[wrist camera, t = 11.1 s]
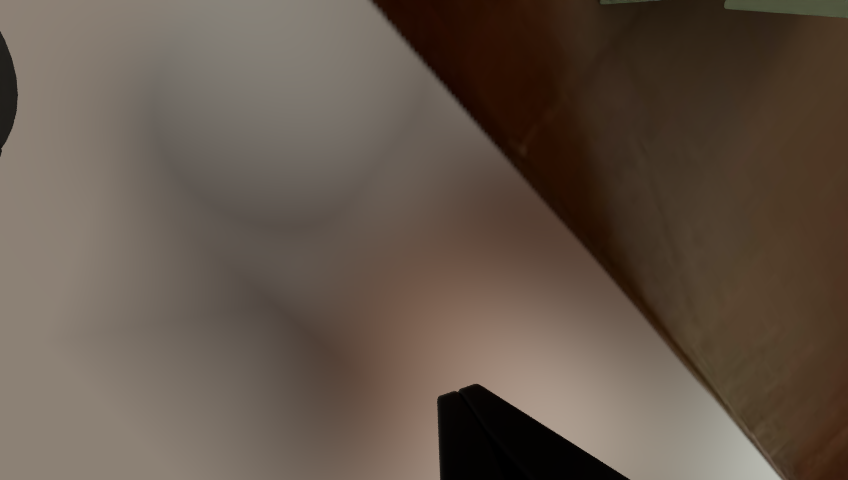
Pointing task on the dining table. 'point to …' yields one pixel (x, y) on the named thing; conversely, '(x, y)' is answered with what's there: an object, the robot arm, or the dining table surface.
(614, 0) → the file box
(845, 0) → the lid
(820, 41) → the dining table surface
